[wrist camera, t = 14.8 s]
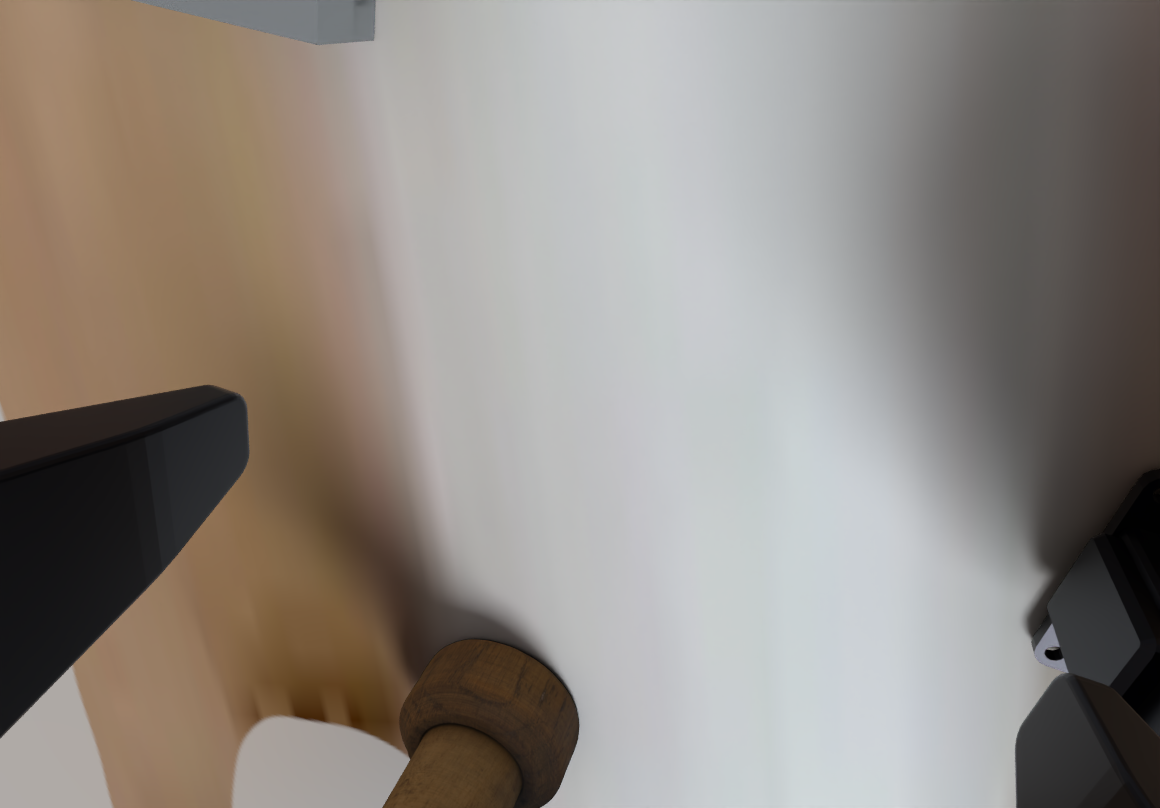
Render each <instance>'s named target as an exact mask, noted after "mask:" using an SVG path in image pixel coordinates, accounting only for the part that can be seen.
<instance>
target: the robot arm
mask: <svg viewBox="0 0 1160 808" xmlns="http://www.w3.org/2000/svg"><path fill="white" fill-rule="evenodd" d="M248 458H249V434H248V415H247V404H246V402H245V400H244V398H243V397H242V396H241V395H240V394H238V393H235V392H232V391H229V390H226V389H223V388H220V387H217V386H214V385H203V386H197V387H191V388H186V389H180V390H175V391H169V392H164V393H158V394H153V395H147V396H141V397H136V398H130V399H125V400H119V401H114V402H108V403H102V404H97V405H91V406H86V407H80V408H75V409H69V410H63V411H58V412H52V413H47V414H41V415H36V416H30V417H25V418H19V419H13V420H8V421H2V422H0V738H1V737H2V736H3V735H4V734H5V733H6V732H7V731H8V730H9V729H10V728H11V727H12V726H13V725H14V724H15V723H16V722H17V721H18V720H19V719H20V718H21V717H22V715H24V714H25V713H26V712H27V711H28V710H29V709H30V707H32V706H33V705H34V704H35V702H37V701H38V699H39V698H40V697H41V696H42V695H43V694H44V693H45V692H46V691H47V690H48V689H49V688H50V687H51V686H52V685H53V684H54V683H55V682H56V681H57V680H58V679H59V678H60V677H61V676H62V675H63V674H64V673H65V672H66V671H67V670H68V669H69V667H71V666H72V665H73V664H74V663H75V662H76V661H77V660H78V659H79V658H80V657H81V656H82V655H83V654H84V653H85V652H86V650H87V649H88V648H89V647H90V646H91V645H92V644H93V643H94V642H95V641H96V640H97V639H98V638H99V637H100V636H101V635H102V634H103V633H104V632H105V631H106V630H107V629H108V628H109V627H110V626H111V625H112V624H113V623H114V622H115V621H116V620H117V619H118V618H119V617H120V616H121V615H122V614H123V613H124V612H125V611H126V610H127V609H128V608H129V607H130V606H131V605H132V604H133V603H134V602H135V600H136V599H137V598H138V597H139V596H140V595H141V594H142V593H143V592H144V591H145V590H146V589H147V588H148V587H149V586H150V585H151V584H152V583H153V582H154V581H155V580H156V579H157V578H158V576H159V575H160V574H161V573H162V572H163V571H164V570H165V569H166V567H167V566H168V565H169V564H170V563H171V562H172V560H173V559H174V558H175V557H176V556H177V555H178V553H179V552H180V551H181V550H182V548H183V547H184V546H185V545H186V543H187V542H188V541H189V540H190V538H191V537H192V536H193V535H194V533H195V532H196V531H197V530H198V528H199V527H200V526H201V525H202V523H203V522H204V521H205V520H206V518H207V517H208V516H209V515H210V513H211V512H212V511H213V510H214V508H215V507H216V506H217V505H218V503H219V502H220V501H221V500H222V498H223V497H224V496H225V495H226V493H227V492H228V491H229V490H230V488H231V487H232V486H233V485H234V483H235V482H236V481H237V480H238V478H239V477H240V476H241V474H242V473H243V471H244V469H245V467H246V465H247V462H248ZM1158 488H1160V469H1156V470H1151V471H1149V472H1147V473H1145V474H1143V475H1142V476H1141V477H1140V478H1139V479H1138V481H1137V482H1136V484H1135V485H1134V487H1133V488H1132V490H1131V491H1130V493H1129V494H1128V496H1127V497H1126V499H1125V500H1124V502H1123V503H1122V505H1121V506H1120V508H1119V509H1118V511H1117V512H1116V514H1115V515H1114V517H1113V518H1112V520H1111V521H1110V523H1109V524H1108V526H1107V527H1106V529H1105V530H1104V532H1103V533H1101V534H1099V535H1097V536H1095V537H1093V538H1091V539H1090V541H1089V542H1088V544H1087V545H1086V547H1085V548H1084V550H1083V551H1082V553H1081V554H1080V556H1079V557H1078V559H1077V560H1076V562H1075V563H1074V565H1073V566H1072V568H1071V569H1070V571H1069V572H1068V574H1067V575H1066V577H1065V578H1064V580H1063V581H1062V583H1061V584H1060V586H1059V587H1058V589H1057V590H1056V592H1055V594H1054V595H1053V597H1052V598H1051V600H1050V601H1049V603H1048V605H1047V609H1048V612H1049V614H1048V615H1047V617H1046V618H1045V620H1044V621H1043V623H1042V624H1041V626H1040V627H1039V629H1038V630H1037V632H1036V633H1035V635H1034V636H1033V639H1032V642H1031V643H1032V647H1033V651H1034V654H1035V658H1036V659H1037V660H1038V661H1039V662H1040V663H1042V664H1044V665H1046V666H1048V667H1051V668H1054V669H1057V670H1060V671H1063V672H1066V673H1064V674H1060V675H1059V676H1057V677H1056V678H1055V679H1054V680H1053V681H1052V682H1051V684H1050V685H1049V687H1048V688H1047V689H1046V691H1045V692H1044V694H1043V695H1042V696H1041V698H1040V699H1039V701H1038V702H1037V703H1036V705H1035V706H1034V708H1033V709H1032V710H1031V712H1030V713H1029V715H1028V716H1027V717H1026V719H1025V720H1024V722H1023V723H1022V725H1021V727H1020V729H1019V732H1018V735H1017V739H1016V745H1015V768H1016V808H1160V495H1154V494H1153V493H1154V491H1156V490H1157V489H1158ZM1053 646H1056V647H1060V648H1059V649H1057V650H1047V648H1049V647H1053Z"/></svg>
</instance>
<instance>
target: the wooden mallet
mask: <svg viewBox="0 0 1160 808" xmlns="http://www.w3.org/2000/svg"><path fill="white" fill-rule="evenodd" d="M400 731H401V736H402V739H403V742H404V744H405V747H406V749H407V751H408V755H409V757H410V761H409V763H408V765H407V767H406V769H405V770H404V772H403V774H402V775H401V777H400V779H399V781H398V782H397V784H396V786H395V787H394V789H393V791H392V792H391V794H390V796H389V797H388V799H387V801H386V802H385V804H384V806H383V808H540V807H542V806H544V805H545V804H547V803H548V802H549V801H550V800H551V799H552V798H553V797H554V796H555V794H556V793H557V791H558V789H559V787H560V785H561V783H562V780H563V777H564V775H565V772H566V770H567V767H568V765H569V762H570V760H571V757H572V755H573V752H574V750H575V747H576V744H577V740H578V735H579V719H578V714H577V710H576V708H575V705H574V702H573V700H572V698H571V697H570V695H569V693H568V691H567V690H566V689H565V687H564V686H563V685H562V683H561V682H560V681H559V680H558V679H557V678H556V676H555V675H554V674H553V673H552V672H551V671H550V670H548V669H547V668H546V667H545V666H544V665H542V664H541V663H539V662H538V661H537V660H535V659H533V658H532V657H530V656H529V655H527V654H525V653H523V652H521V651H519V650H517V649H515V648H513V647H510V646H507V645H504V644H500V643H496V642H493V641H488V640H479V639H469V640H462V641H458V642H455V643H452V644H450V645H448V646H446V647H444V648H443V649H442V650H440V651H439V652H438V653H437V654H436V655H435V656H434V657H433V659H432V660H431V661H430V663H429V664H428V665H427V667H426V669H425V670H424V672H423V674H422V675H421V677H420V679H419V680H418V682H417V683H416V685H415V686H414V688H413V689H412V691H411V692H410V694H409V695H408V697H407V699H406V700H405V702H404V704H403V707H402V709H401V713H400Z"/></svg>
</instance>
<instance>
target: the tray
mask: <svg viewBox="0 0 1160 808" xmlns="http://www.w3.org/2000/svg"><path fill="white" fill-rule="evenodd" d="M133 1H137V2H142V3H146V4H150V5H154V6H158V7H162V8H166V9H171V10H175V11H179V12H183V13H187V14H191V15H195V16H200V17H204V18H208V19H212V20H216V21H220V22H224V23H229V24H233V25H237V26H241V27H245V28H249V29H253V30H258V31H262V32H266V33H270V34H274V35H278V36H282V37H287V38H291V39H295V40H299V41H303V42H307V43H311V44H316V45H322V44H335V43H347V42H360V41H372V40H374V24H375V0H133Z"/></svg>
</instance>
